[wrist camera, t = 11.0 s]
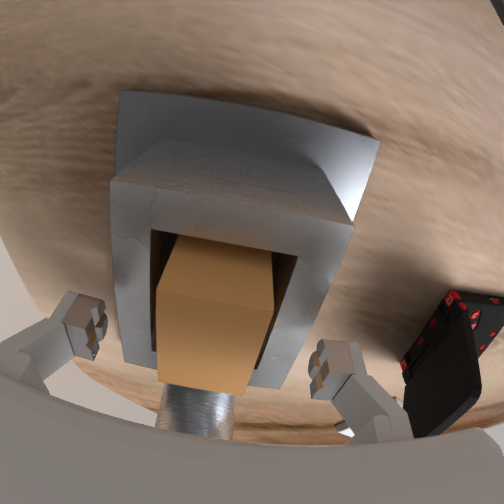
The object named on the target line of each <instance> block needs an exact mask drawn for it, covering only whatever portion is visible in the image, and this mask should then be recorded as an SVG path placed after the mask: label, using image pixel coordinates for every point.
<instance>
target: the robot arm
mask: <svg viewBox="0 0 504 504" xmlns="http://www.w3.org/2000/svg"><path fill="white" fill-rule="evenodd" d="M105 308H106V307H105V302H104V301H103V300H101V299H97V298H94V297H90V296H87V295H83V294H79V293H76V292H72V291H68V292H66V294H65V295H64V297H63V298H62V300H61V301H60V303H59V304H58V306H57V307H56V309H55V310H54V312H53V313H52V315H51V317H50V318H49V319H48V318H45V319H43V320H41V321H40V322H38V323H36V324H34V325H32V326H30V327H28V328H26V329H24V330H22V331H21V332H19V333H17V334H15V335H13V336H11V337H9V338H8V339H6V340H4V341H2V342H1V343H0V504H504V456H503V453H502V450H501V448H500V446H499V445H498V444H497V443H496V442H495V441H494V440H493V439H492V438H491V437H490V436H489V435H488V434H487V433H486V432H485V431H484V430H483V429H481V428H479V427H473V428H468V429H464V430H460V431H455V432H450V433H445V434H440V435H434V436H429V437H422V438H416V439H414V437H413V433H412V429H411V425H410V422H409V418H408V414H407V412H406V411H405V410H404V409H403V408H402V407H401V406H400V405H399V404H398V403H397V402H396V401H395V400H394V399H393V398H392V397H391V396H390V395H389V394H388V393H387V392H386V391H385V390H384V389H383V388H382V387H381V386H380V385H379V384H378V382H377V381H376V380H375V379H374V378H373V377H372V376H370V375H367V371H366V368H365V364H364V360H363V357H362V353H361V350H360V346H359V344H358V343H357V342H345V341H336V340H326V339H321V340H320V341H319V342H318V344H317V351H315V352H313V353H312V355H311V357H310V360H309V365H308V372H309V376H310V377H311V379H312V380H313V381H312V382H311V384H310V390H311V399H317V400H331V402H332V403H333V405H334V406H335V407H336V409H337V410H338V412H339V413H340V414H341V416H342V417H343V419H344V420H345V422H346V423H347V424H348V426H349V427H350V429H351V430H352V432H353V433H354V434H355V435H354V436H353V437H352V438H351V439H350V440H348V441H347V442H346V443H345V445H325V446H309V445H279V444H263V443H251V442H241V441H232V440H224V439H217V438H210V437H203V436H197V435H191V434H185V433H180V432H175V431H170V430H165V429H160V428H156V427H152V426H147V425H143V424H139V423H135V422H131V421H127V420H124V419H120V418H117V417H113V416H110V415H107V414H103V413H100V412H97V411H94V410H91V409H87V408H85V407H82V406H79V405H76V404H73V403H70V402H68V401H65V400H62V399H60V398H57V397H55V396H52V395H50V393H49V391H48V389H47V387H46V385H45V384H44V382H43V381H44V380H45V379H46V378H48V377H49V376H50V375H51V374H53V373H54V372H55V371H57V370H58V369H59V368H60V367H62V366H63V365H64V364H66V363H67V362H68V361H69V360H71V359H72V358H73V357H74V356H78V357H81V358H85V359H88V360H92V361H94V359H95V357H96V354H97V352H98V350H99V344H98V342H99V341H101V340H103V339H104V336H105V334H106V330H107V324H108V320H107V316H106V314H105V313H104V310H105Z"/></svg>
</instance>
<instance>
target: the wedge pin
mask: <svg viewBox="0 0 504 504" xmlns="http://www.w3.org/2000/svg"><path fill="white" fill-rule="evenodd" d="M273 313H274V297H273V277H272V257H271V251H268V250H263V249H258V248H252V247H247V246H241V245H236V244H231V243H225V242H220V241H214V240H209V239H204V238H198V237H193V236H187V235H182V234H179V236H178V239H177V241H176V243H175V245H174V248H173V250H172V252H171V255H170V257H169V260H168V262H167V264H166V267H165V269H164V272H163V274H162V276H161V279H160V281H159V284H158V286H157V289H156V340H157V368H158V381H160V382H165V383H170V384H174V385H179V386H185V387H190V388H195V389H201V390H207V391H213V392H220V393H226V394H234V395H241V396H243V395H244V393H245V390H246V387H247V385H248V382H249V379H250V377H251V374H252V371H253V369H254V366H255V363H256V360H257V358H258V355H259V352H260V349H261V347H262V344H263V341H264V338H265V335H266V333H267V330H268V327H269V324H270V321H271V318H272V316H273Z"/></svg>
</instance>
